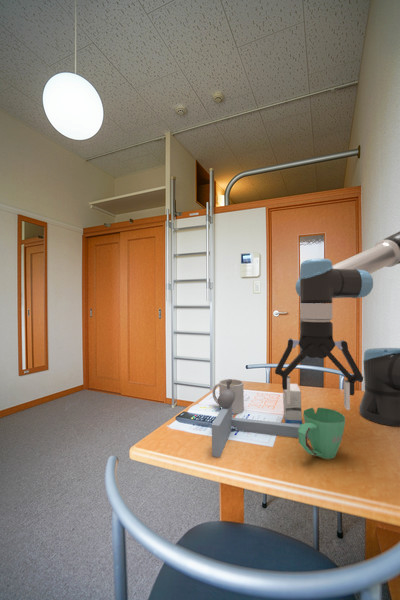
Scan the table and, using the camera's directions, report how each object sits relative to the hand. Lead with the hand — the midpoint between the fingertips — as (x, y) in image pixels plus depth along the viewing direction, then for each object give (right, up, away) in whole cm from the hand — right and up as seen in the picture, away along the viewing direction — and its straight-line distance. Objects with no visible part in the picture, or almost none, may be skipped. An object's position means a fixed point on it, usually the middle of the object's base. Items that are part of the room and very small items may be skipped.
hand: (316, 405), depth 69 cm
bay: (-10, -13, +6) cm, 18 cm away
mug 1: (-19, -14, +33) cm, 40 cm away
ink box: (0, -14, +20) cm, 24 cm away
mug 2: (+1, -13, 0) cm, 13 cm away
